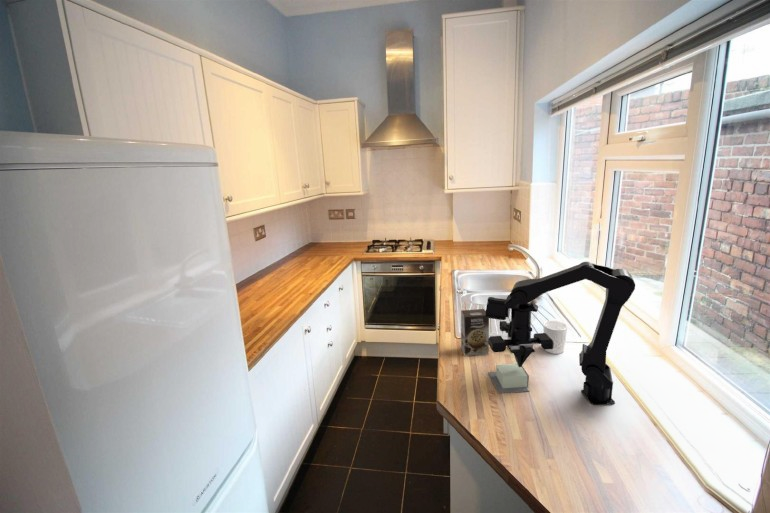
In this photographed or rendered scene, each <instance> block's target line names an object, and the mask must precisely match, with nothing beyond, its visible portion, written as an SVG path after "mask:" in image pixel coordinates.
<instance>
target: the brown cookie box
mask: <svg viewBox="0 0 770 513" xmlns="http://www.w3.org/2000/svg"><path fill="white" fill-rule="evenodd" d="M460 327H461V328H460V335H461V336H460V349H461V352H462V353H463V355H464V357H470V356H471V357H472V356H483V355H484V356H485V355H486V356H487V355H489V348H490V346H489V344H488V339H489V337H490V336H489V334H490V318H486V309H485V308H479V309H464V310H463V309H462V310H460Z"/></svg>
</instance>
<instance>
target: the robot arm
mask: <svg viewBox="0 0 770 513" xmlns="http://www.w3.org/2000/svg"><path fill="white" fill-rule="evenodd" d="M584 280H587V281H589V282H592V283H593V284H596V285H598V286H600V287H601V288H603V289H605V299H604V303H603V306H602V308H601V312H600V315H599V318H598V321H597V323H596V327H595V329H594V333H593V336H592V339H591V341H590V343H588V345H586V344H585V343H583V344H582V348H581V351H580V353H579V356H578V358H579V366H580V367H581V368H580V370H581V372H582V374H583V375H584V376H585V378H584V382H583V386H582V387H583V388H582V389H581V391H580V392H581V393H582V395H583V396H584V397H585V398H586V399H587V400H588V401H589V403H590V404H591V405H593V406H597V405H598V406H599V405H615V404H616V402H615V400H614V399H613V398H612V396H613V387H614V380H613V378H612V370H611V367H610V366H609V365H608V364H607V350H608V348H609V344H610V341H611V338H612V336H613V333H614V330H615V327H616V324H617V322H618V319H619V316H620V313H621V309H622V308H623V306H624V305H625V304H626V303H627V302H628V301H629V300H630V298H631V296H632V295H633V293H634V291H635V289H636V283H635V281H634V278H633V276H632V274H631V273H630V271H629V270H627V269H624V268H612V267H608V266H606V265H599V264H595V263H592V262H590V261H583V262H581V263H579V264H577V265H576V264H575V265H573V266H571V267H569V268H566V269H562V270H560V271H557V272H554V273H550V274H548V275H546V276H543V277H541V278H528V279H523V280H517V282H515V283H514V285H513V287H512V289H511V291H510V293H509V294H507V297H506V298H497V297H493V296H489V297H488V298H487V304H486V309H485V311H486V318H489V319H493V320H500V321H499V331H501V332H505V334H507V337H508V336H509V337H511V339H509V340H508V339H504V338H503V337H502V335H494V336H493V335H490V336H489V339H488V344H489V348H490V349H491V351H492V352H493V353H504V352H505V351H506V350H507V349H508V350H509V352H510V353H511V354H513V355H514V359H515V362H516V364H517V365H518V367H522V366H523V365H524V364H525V362H526V361H527V359H528V358H529V357H530V356H531V354H532V353H535V352H536V351H535V350H536V349H535V348H534V345H540V347H541V349H543V350H545V349H553V348H554V342H553V340H552V339H551V338H550V337H549V336H548V335H547V334H546V333H543V332H539V333H537V332H536V333H534V334H533V337H531V338H530V332H531V333H532V332H533V328H532V323H531V322H532V312H534V313H537V312H538V310H539V305H537V304H536V303H535V302H534V300H536V299H537V298H539V297H540V296H541V295H544V294H545V293H548V292H551V291H554V290H557V289H560V288H563V287H566V286H569V285H573V284H575V283H578V282H582V281H584ZM510 315H511V316H510ZM508 318H510V321H509V322H507V321H505V320H507V319H508ZM519 346H520V350H519Z"/></svg>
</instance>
